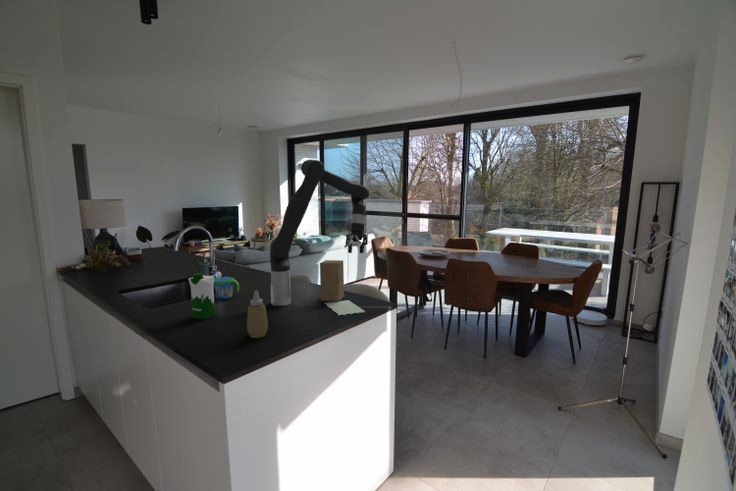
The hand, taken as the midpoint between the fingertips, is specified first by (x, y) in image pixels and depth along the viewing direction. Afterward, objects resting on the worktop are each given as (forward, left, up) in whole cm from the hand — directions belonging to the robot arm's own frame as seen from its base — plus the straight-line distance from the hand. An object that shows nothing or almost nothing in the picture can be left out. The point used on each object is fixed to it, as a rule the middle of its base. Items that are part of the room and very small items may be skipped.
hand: (355, 253), depth 197 cm
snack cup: (-65, +27, -24) cm, 74 cm away
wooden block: (-14, -1, -24) cm, 27 cm away
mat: (-14, -18, -24) cm, 33 cm away
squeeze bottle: (-58, -36, -24) cm, 72 cm away
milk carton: (-76, -2, -24) cm, 80 cm away
